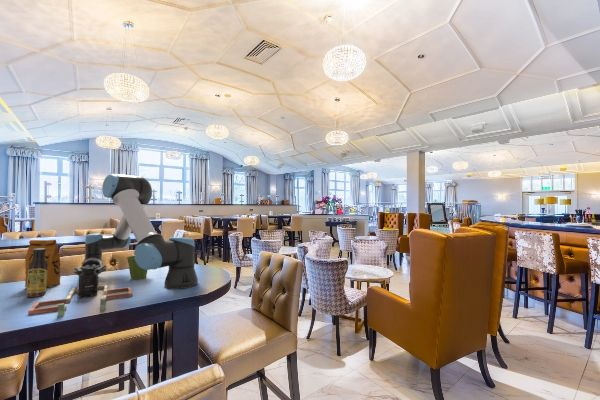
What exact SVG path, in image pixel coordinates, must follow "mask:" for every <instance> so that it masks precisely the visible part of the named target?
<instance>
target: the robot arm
mask: <svg viewBox="0 0 600 400" xmlns="http://www.w3.org/2000/svg"><path fill="white" fill-rule="evenodd" d="M101 191H102V195H103V196H104V197H105V198H107V199H111V200H112V202H113V203H114V204H115V205H116V206H118V207H119V209H120V210H121V211H122V213H123V215H122V217H121V219H120V220H119V222H118V225H117V227H116V229H115V231H114V233H113V234H112V235H107V236H103V233H88V234H86V235H85V239H84V240H85V241H84V263H83V264H82V266H80V267H74V269H73V274H76V275H77V276H78V277H79V276H80V274H82V268H83V267H88V266H95V267H96V271H95V272H96V273H97V274H98V275H100V274H102V273H103V272H105V271H107V265H106V264H105V265H102V264H103V251H107V250H108V251H109V250H118V249H125V248H128V247H129V246H130V245H131V242H132V240H131V236H130V235H131V233H133V236H134V238H135V240H136V245H135V249H134V251H133V256H135V257H134V258H135V261H136V263H137V265H138V266H139V267H140V268H142V269H145V270H148V271H150V270H157V269H162V268H166V267H168V271H167V273H166V277H165V279H164V288H167V289H174V290H179V289H186V288H192V287H195V286H197V285H198V283H199V279H198V275H197V272H196V269H195V250H196V246H195V240H194V238H192V237H179V236H169V239H168V240H165V239H164V237H163V235H162V234H161V233H157V232H156V229H155V228H154V225H153V224H152V222H151V220H150V219H149V216H148V214H147V212H146V211H145V209H144V208H145V206H147V205H148V204H149V203H150V201H151V198H152V196H153V188H152V185H151V183H150V182H149V180H147V179H146V178H144V177H143V176H141V175H129V174H121V173H120V174H119V173H110V174H108V175H107V176H106V177H105V178H104V179H103V183H102V187H101Z"/></svg>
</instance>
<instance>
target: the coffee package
mask: <svg viewBox="0 0 600 400" xmlns="http://www.w3.org/2000/svg"><path fill="white" fill-rule="evenodd" d="M28 244H29V245H28V246H29V247H28V249H27V252H26V254H25V258H24V259H25V260H24V262H25V267H24V269H25V279H24V280H25V281H24V282H25V283H24V284H25V285H24V287H25V288H27V280H28V270H29V265H30V263H31V262H32V260H33V254H34V253H33V249H37V248H45V249H46V252H45V261H46V262H47V264H48V267H47V270H48V271H47V285H46V288H47V287H48V288H53V287H55V286H57V285H60V284H61V271H62V270H61V268H62V267H61V256H60V252H59V247H58V243H57V240H56V239H46V240H43V239H42V240H41V239H30V240H29V241H28Z"/></svg>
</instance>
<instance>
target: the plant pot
mask: <svg viewBox="0 0 600 400" xmlns="http://www.w3.org/2000/svg"><path fill="white" fill-rule="evenodd" d="M134 257H135V255H131V256H127V257H125V258H126V259H127V263H128V268H129V277H130V279H131V280H133V281H134V280H143V279H146V278H147V274H148V271H149V270H145V269H142V268H140V267H139V266H138V265H137V263H136V261H135V258H134Z"/></svg>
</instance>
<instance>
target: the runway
mask: <svg viewBox="0 0 600 400" xmlns="http://www.w3.org/2000/svg"><path fill="white" fill-rule="evenodd" d="M101 290H103V295H102V297H100V302H99V303H100V305H99V306H100V307H99V310H100V311H104V310H106V309H107V308H106V307H107V306H106V304H107V301H108V300H116V299H123V298H128V297H129V298H130V297H133V289H132V286H127V287H118V288H111V289H109V284H105V285H98V291H101ZM76 293H77V294H78V288H72V289H70V292H69V293H68V294H67V296H66V298H59V299H53V300H52V299H51V300H45V301H36V302H35V303H33V305H32V306H31V307H30V308H29V309H28V316H30V315H37V314H45V313H53V312H57V317H58V318H60V317H64V316H65V312H66V311H67V308H68V307H67V304H69V303H71V301H72V299H73V297H74V294H76Z"/></svg>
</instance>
